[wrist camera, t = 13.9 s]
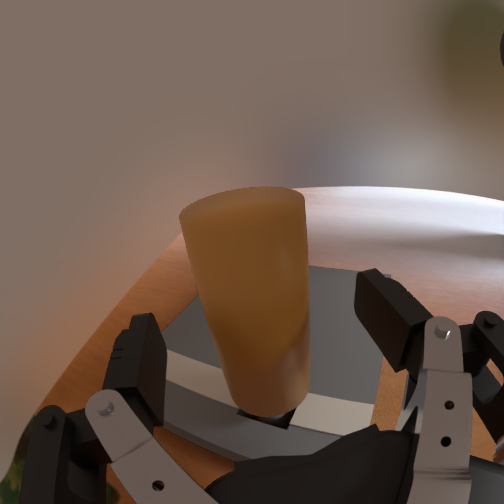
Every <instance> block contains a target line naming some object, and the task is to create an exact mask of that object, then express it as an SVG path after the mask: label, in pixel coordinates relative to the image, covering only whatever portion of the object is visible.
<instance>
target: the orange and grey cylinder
mask: <svg viewBox="0 0 504 504" xmlns="http://www.w3.org/2000/svg"><path fill="white" fill-rule="evenodd" d="M179 219H180V224H181V228H182V232H183V236H184V240H185V244H186V248H187V252H188V256H189V260H190V264H191V267H192V271H193V275H194V279H195V282H196V286H197V289H198V293H199V297H200V300H201V304H202V307H203V310H204V314H205V317H206V321H207V324H208V327H209V331H210V334H211V337H212V340H213V343H214V347H215V350H216V353H217V356H218V359H219V362H220V365H221V368H222V371H223V374H224V377H225V380H226V383H227V386H228V389H229V392H230V395H231V397H232V399H233V401H234V403H235V404H236V405H237V406H238V407H239V408H240V409H242V410H243V411H245V412H247V413H249V414H252V415H255V416H259V420H260V422H262V423H265V424H268V425H271V426H275V427H278V428H284V427H285V426H286V425H287V424H288V423H289V421H290V411H291V410H293V409H295V408H296V407H297V406H298V405H300V404H301V403H302V401H303V400H304V399H305V397H306V396H307V394H308V391H309V387H310V296H309V267H308V246H307V228H306V213H305V199H304V196H303V195H302V194H301V193H299V192H297V191H295V190H292V189H288V188H281V187H250V188H242V189H236V190H231V191H226V192H221V193H218V194H214V195H211V196H208V197H205V198H203V199H200V200H198V201H196V202H194V203H192V204H190V205H189V206H187V207H186V208H185V209H183V210H182V211H181V213H180V215H179Z"/></svg>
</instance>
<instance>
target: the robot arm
mask: <svg viewBox="0 0 504 504" xmlns="http://www.w3.org/2000/svg"><path fill="white" fill-rule="evenodd" d="M500 54H501V60H502V64H503V66H504V33H503V35H502V38H501V43H500ZM354 310H355V314H356V316H357V318H358V319H359V321H360V322H361V324H362V325H363V326H364V328H365V329H366V331H367V332H368V333H369V335H370V336H371V338H372V339H373V341H374V342H375V343H376V345H377V346H378V348H379V349H380V351H381V352H382V354H383V355H384V356H385V358H386V359H387V361H388V362H389V364H390V365H391V367H392V368H393V370H394V371H395V373H397V372H399V371H401V370H404V369H407V371H408V375H407V378H406V385H405V391H404V397H403V403H402V408H401V413H400V417H399V420H398V423H397V425H396V428H395V430H385V431H379V429H378V427H377V425H376V424H373V425H371V426H368V427H366V428H363V429H361V430H358V431H355V432H352V433H350V434H347V435H344V436H342V437H341V438H339V439H337V440H336V441H334V442H332V443H331V444H329V445H327V446H326V447H324V448H322V449H320V450H318V451H317V452H315V453H313V454H310V455H291V456H266V457H261V458H256V459H250V460H244V461H238V462H234V467H235V470H234V471H232V472H229V473H227V474H225V475H223V476H221V477H219V478H218V479H216V480H215V481H213V482H212V483H211V484H210V485H208V486H207V487H206V488H205V489H204V488H203V487H202V486H200V485H199V484H198V483H197V482H196V481H195V480H194V479H193V478H192V477H191V476H190V475H189V474H188V473H187V472H186V471H185V470H184V469H183V468H182V467H181V466H180V465H179V464H178V463H177V462H176V461H175V460H174V459H173V458H172V457H171V455H170V454H169V453H168V452H167V451H166V450H165V449H164V448H163V447H162V445H161V444H160V443H159V442H158V441H157V440H156V439H155V437H154V436H153V427H154V426H164V403H165V385H166V370H167V348H166V344H165V341H164V339H163V336H162V334H161V332H160V329H159V327H158V324H157V322H156V319H155V317H154V315H153V314H152V313H145V314H139V315H133V316H132V319H131V322H130V326H129V329H126V330H122V332H121V333H120V334H119V336H118V337H117V338H116V339H115V343H114V346H113V352H112V353H111V357H110V359H111V360H109V364H108V368H107V371H106V375H105V379H104V383H103V387H102V390H101V391H99V392H97V393H95V394H94V395H93V396H91V397H90V399H89V400H88V402H87V404H86V407H85V408H84V409H81V410H77V411H74V412H70V413H67V414H66V413H65V412H64V411H63V410H62V409H61V408H60V407H58V406H56V405H49V406H46V407H44V408H43V409H41V410H40V411H39V412H38V414H37V415H36V417H35V420H34V424H33V428H32V432H31V436H30V440H29V445H28V449H27V454H26V459H25V464H24V470H23V476H22V483H21V491H20V500H19V504H106V469H107V463H110V465H111V468H112V469H113V471H114V473H115V474H116V476H117V477H118V479H119V480H120V482H121V483H122V484H123V486H124V487H125V489H126V490H127V491H128V493H129V494H130V495H131V497H132V498H133V499H134V501H135V502H136V503H137V504H504V383H503V386H501V385H500V383H499V382H498V381H497V379H496V378H495V377H494V375H493V374H492V373H491V371H490V370H489V369H488V367H487V366H486V365H487V363H488V361H489V359H490V358H491V360H492V361H493V362H494V363H495V365H496V366H497V367H498V369H499V370H500V371H501V372H502V374H503V377H504V320H503V319H502V318H501V317H499V316H498V315H497V314H495V313H493V312H490V311H481V312H479V313H478V314H477V315H476V317H475V319H474V322H473V324H467V325H460V326H458V325H457V324H456V323H455V322H454V321H453V320H451V319H449V318H446V317H440V316H438V317H434V316H433V315H432V314H431V313H430V312H429V311H428V310H427V309H426V308H425V307H424V306H423V305H422V304H421V303H420V302H419V301H418V300H417V299H416V298H415V297H413V295H412V294H411V293H410V292H408V291H407V290H406V289H405V288H404V287H403V286H402V285H401V284H400V283H399V282H397V281H395V280H393V279H391V278H389V277H388V278H386V277H385V276H384V275H383V274H382V273H381V272H379V271H378V270H377V269H376V268H374V269H370V270H366V271H362V272H358V273H357V276H356V285H355V297H354ZM472 405H473V407H474V408H475V410H476V412H477V413H478V415H479V416H480V418H481V420H482V421H483V423H484V425H485V426H486V428H487V430H488V431H489V433H490V435H491V436H492V438H493V440H494V442H495V443H496V453H495V454H494V456H493V461H494V462H492V461H488V460H485V459H481V458H478V457H475V456H472V455H470V448H471V436H472ZM111 462H112V463H111ZM68 466H69V469H68ZM67 476H68V479H67Z"/></svg>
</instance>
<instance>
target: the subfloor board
mask: <svg viewBox="0 0 504 504" xmlns="http://www.w3.org/2000/svg"><path fill="white" fill-rule="evenodd" d="M308 267H309V296H310V387H309V391H308V394H307V396H306V397H305V399H304V400H303V401H302V403H301V404H300V405H298V406H297V408H296V411H295V413H294V415H293V417H292V419H291V422H290V425H289V427H288V429H287V430H285V429H282V428H278V427H275V426H271V425H268V424H265V423H262V422H258V421H255V420H252V419H249V418H248V416H249V415H250V414H249V413H247V412H245V411H243V410H242V409H240V408H239V407H238V406H237V405H236V404H235V403H234V401H233V399H232V397H231V395H230V392H229V389H228V386H227V383H226V380H225V377H224V374H223V371H222V368H221V365H220V362H219V359H218V356H217V353H216V350H215V347H214V343H213V340H212V337H211V334H210V331H209V327H208V324H207V321H206V317H205V314H204V310H203V307H202V304H201V300H200V297H199V295H198V296H197V297H196V298H195V299H194V300H193V301H192V302H191V303H190V304H189V305H188V306H187V307H186V308H185V309H184V310H183V311H182V312H181V313H180V314H179V315H178V316H177V317H176V318H175V319H174V320H173V321H172V322H171V323H170V324H169V325H168V326H167V327H166V328H165V329H164V330H163V331H162V332H161V334H162V336H163V339H164V341H165V344H166V348H167V370H166V385H165V403H164V426H161V427H163V428H164V429H166V430H168V431H170V432H172V433H174V434H176V435H178V436H180V437H182V438H183V439H185V440H187V441H190V442H192V443H194V444H196V445H198V446H200V447H202V448H204V449H206V450H209V451H211V452H213V453H216V454H218V455H220V456H223V457H225V458H227V459H230V460H232V461H235V462H238V461H244V460H250V459H256V458H261V457H266V456H291V455H310V454H313V453H315V452H317V451H318V450H320V449H322V448H324V447H326V446H327V445H329V444H331V443H332V442H334V441H336V440H337V439H339V438H341V437H342V436H344V435H347V434H350V433H352V432H355V431H358V430H361V429H363V428H366V427H368V426H369V425H370V421H371V417H372V413H373V408H374V403H375V398H376V393H377V388H378V383H379V377H380V372H381V366H382V359H383V354H382V352H381V351H380V349H379V348H378V346H377V345H376V343H375V342H374V341H373V339H372V338H371V336H370V335H369V333H368V332H367V331H366V329H365V328H364V326H363V325H362V324H361V322H360V321H359V319H358V318H357V316H356V314H355V310H354V297H355V285H356V276H357V273H358V272H361V271H352V270H343V269H334V268H325V267H316V266H308ZM383 275H384V276H385V277H386V278H388V277H389V278H391V275H389V274H383Z"/></svg>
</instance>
